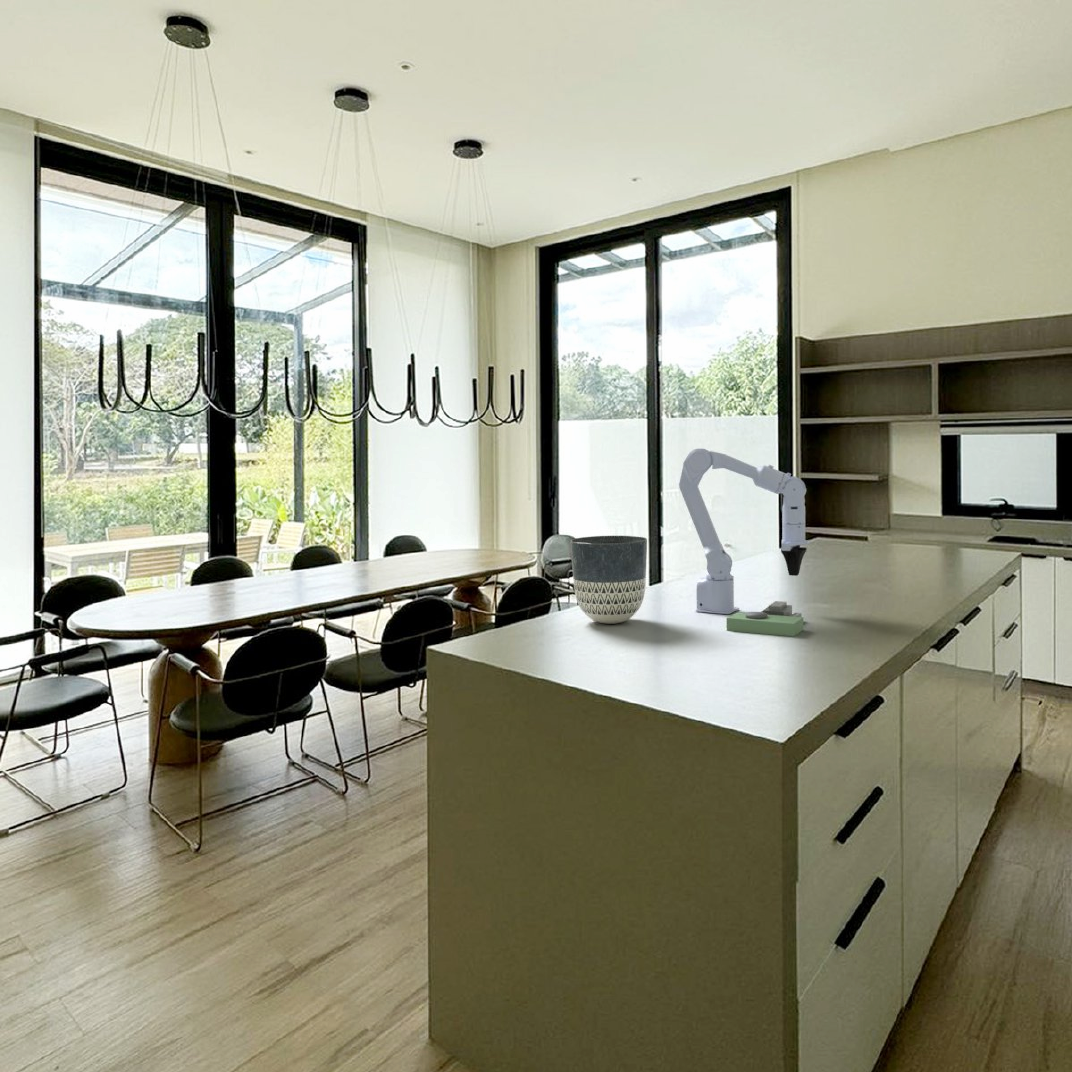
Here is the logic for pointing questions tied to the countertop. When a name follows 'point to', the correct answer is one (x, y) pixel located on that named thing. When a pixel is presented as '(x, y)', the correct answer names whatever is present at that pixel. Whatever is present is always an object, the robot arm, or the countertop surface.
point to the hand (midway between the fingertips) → (793, 575)
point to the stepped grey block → (779, 609)
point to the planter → (609, 576)
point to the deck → (766, 623)
